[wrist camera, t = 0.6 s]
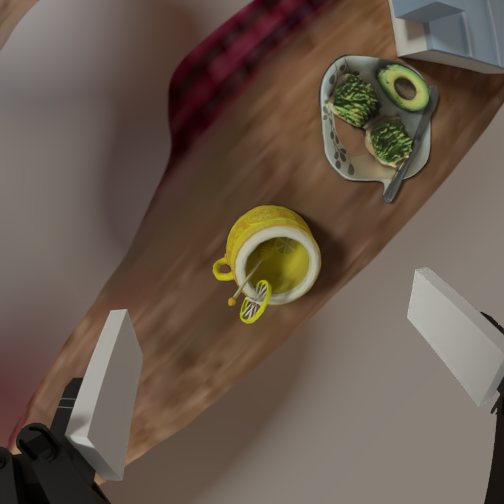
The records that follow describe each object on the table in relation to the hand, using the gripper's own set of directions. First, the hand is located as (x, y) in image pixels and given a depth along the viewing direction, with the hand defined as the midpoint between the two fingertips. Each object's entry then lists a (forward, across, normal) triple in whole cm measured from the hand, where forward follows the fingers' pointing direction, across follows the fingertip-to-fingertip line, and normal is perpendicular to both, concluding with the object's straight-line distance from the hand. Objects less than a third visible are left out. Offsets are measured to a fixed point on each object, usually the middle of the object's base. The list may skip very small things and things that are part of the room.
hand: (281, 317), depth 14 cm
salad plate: (+28, +19, +8) cm, 35 cm away
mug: (+28, +2, -8) cm, 29 cm away
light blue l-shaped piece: (+21, +30, +23) cm, 43 cm away
